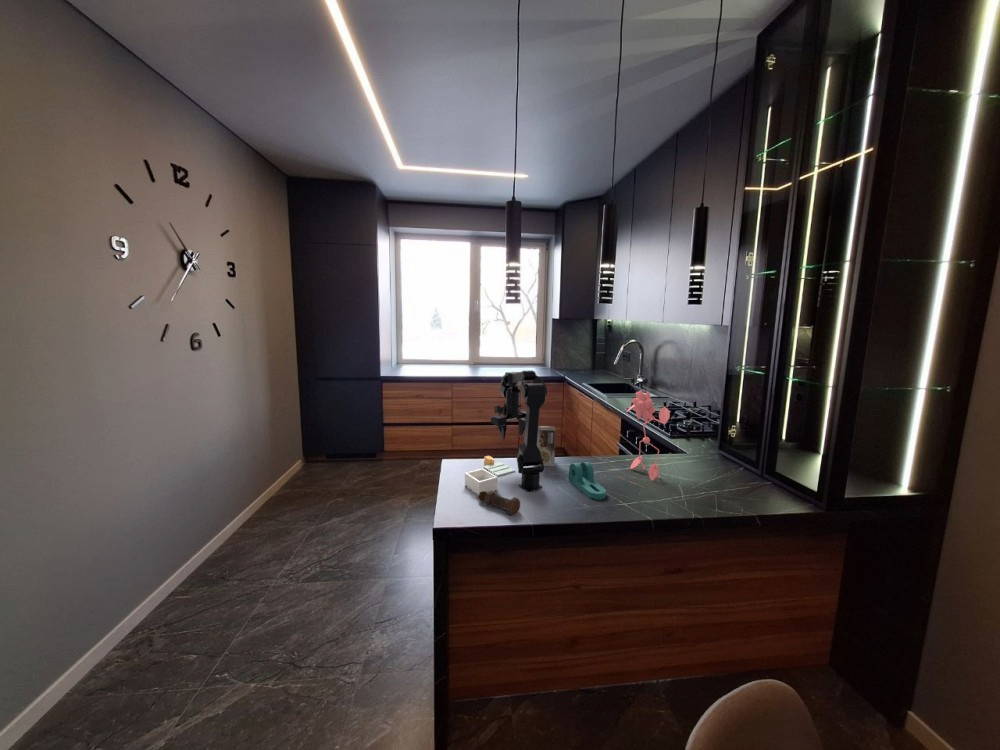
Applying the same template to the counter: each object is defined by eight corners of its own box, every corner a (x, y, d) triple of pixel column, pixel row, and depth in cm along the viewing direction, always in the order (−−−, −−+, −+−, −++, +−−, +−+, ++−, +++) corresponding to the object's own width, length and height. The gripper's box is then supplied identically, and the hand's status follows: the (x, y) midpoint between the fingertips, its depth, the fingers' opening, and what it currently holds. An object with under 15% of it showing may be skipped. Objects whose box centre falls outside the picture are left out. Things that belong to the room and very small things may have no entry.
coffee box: (554, 461, 172) (555, 425, 170) (554, 466, 166) (555, 430, 163) (533, 460, 173) (534, 425, 171) (533, 465, 167) (533, 429, 164)
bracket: (568, 480, 153) (569, 460, 152) (584, 478, 155) (585, 459, 154) (592, 500, 136) (593, 479, 135) (609, 498, 138) (610, 477, 137)
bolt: (482, 504, 136) (517, 517, 127) (473, 502, 132) (508, 515, 123) (487, 488, 138) (522, 499, 128) (479, 485, 134) (514, 496, 124)
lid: (515, 472, 160) (515, 465, 160) (497, 476, 155) (497, 469, 155) (494, 460, 172) (494, 454, 172) (477, 464, 167) (477, 458, 167)
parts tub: (497, 490, 143) (497, 477, 142) (479, 495, 139) (479, 482, 138) (482, 480, 151) (482, 468, 150) (464, 485, 147) (464, 472, 146)
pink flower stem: (634, 462, 172) (637, 383, 166) (676, 486, 147) (682, 395, 142) (603, 466, 167) (606, 386, 162) (641, 492, 143) (646, 399, 137)
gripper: (518, 395, 176) (517, 429, 178) (483, 400, 165) (483, 436, 167) (534, 400, 167) (533, 435, 169) (498, 405, 156) (498, 443, 158)
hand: (512, 437), depth 166 cm, fingers open, 9 cm apart
